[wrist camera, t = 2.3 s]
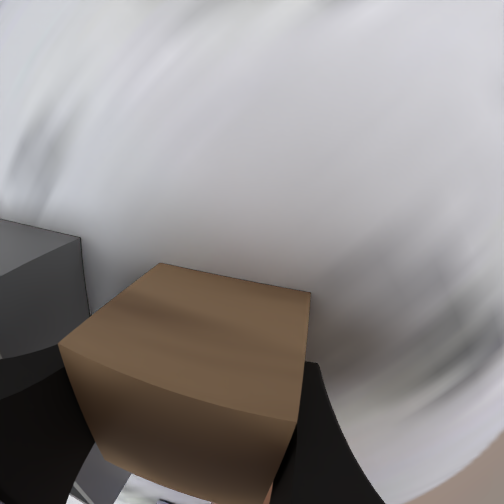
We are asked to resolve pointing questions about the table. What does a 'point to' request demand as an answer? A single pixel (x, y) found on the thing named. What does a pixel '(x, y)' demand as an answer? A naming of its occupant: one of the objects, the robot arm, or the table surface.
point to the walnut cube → (193, 380)
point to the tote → (49, 322)
